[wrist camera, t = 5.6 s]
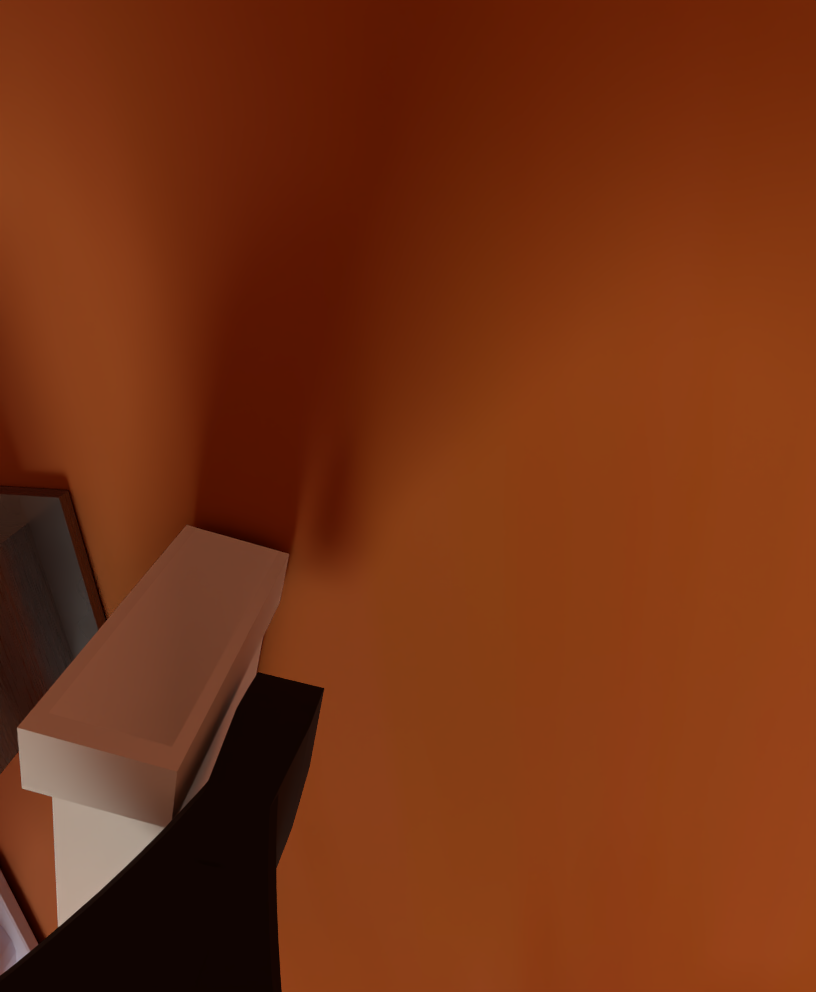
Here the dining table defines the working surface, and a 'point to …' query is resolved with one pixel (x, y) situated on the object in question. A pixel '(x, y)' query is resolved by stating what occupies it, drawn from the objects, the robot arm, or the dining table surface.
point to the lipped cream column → (148, 705)
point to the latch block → (39, 601)
